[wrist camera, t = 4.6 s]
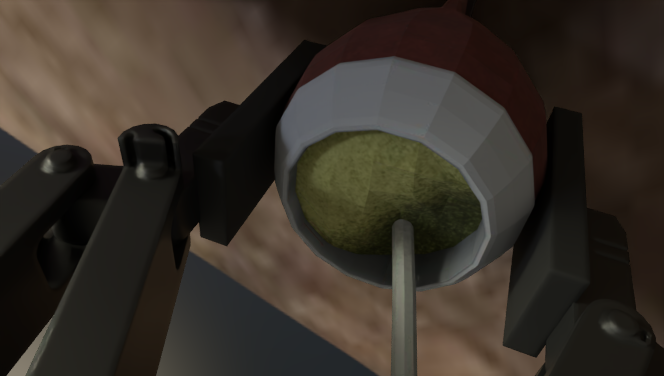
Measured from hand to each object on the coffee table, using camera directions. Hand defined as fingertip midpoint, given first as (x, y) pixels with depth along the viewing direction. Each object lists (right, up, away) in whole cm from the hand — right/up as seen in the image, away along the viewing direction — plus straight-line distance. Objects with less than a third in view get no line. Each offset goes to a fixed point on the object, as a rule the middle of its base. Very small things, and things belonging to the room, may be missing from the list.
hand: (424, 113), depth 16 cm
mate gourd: (+1, +2, +2) cm, 3 cm away
